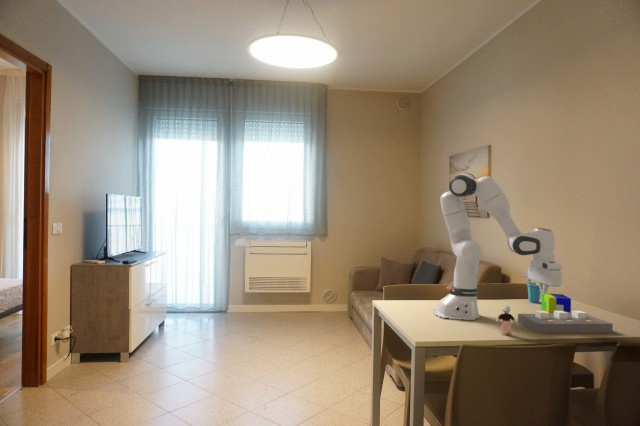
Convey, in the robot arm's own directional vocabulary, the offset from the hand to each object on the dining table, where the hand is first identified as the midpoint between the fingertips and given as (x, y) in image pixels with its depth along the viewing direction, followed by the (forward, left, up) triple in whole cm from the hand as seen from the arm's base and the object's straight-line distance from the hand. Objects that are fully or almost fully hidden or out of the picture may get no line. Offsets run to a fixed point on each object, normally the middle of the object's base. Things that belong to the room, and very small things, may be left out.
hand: (543, 292), depth 182 cm
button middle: (+9, 0, -12) cm, 15 cm away
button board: (+9, -2, -16) cm, 18 cm away
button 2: (+18, 0, -12) cm, 21 cm away
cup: (+24, +46, -16) cm, 54 cm away
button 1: (0, 0, -12) cm, 12 cm away
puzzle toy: (+19, +18, -16) cm, 30 cm away
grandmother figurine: (-24, -12, -16) cm, 31 cm away
